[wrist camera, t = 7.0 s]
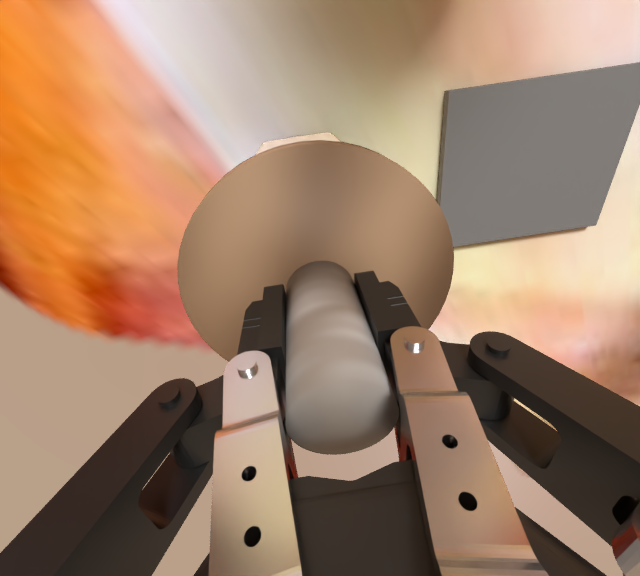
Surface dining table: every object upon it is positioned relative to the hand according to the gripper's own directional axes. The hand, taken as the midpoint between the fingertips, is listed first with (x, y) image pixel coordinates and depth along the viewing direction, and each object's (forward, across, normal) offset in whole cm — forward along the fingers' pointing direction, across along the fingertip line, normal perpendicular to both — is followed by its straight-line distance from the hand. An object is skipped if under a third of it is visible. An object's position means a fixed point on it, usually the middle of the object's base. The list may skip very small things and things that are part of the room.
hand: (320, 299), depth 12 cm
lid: (+2, 0, 0) cm, 2 cm away
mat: (+11, -15, -1) cm, 19 cm away
